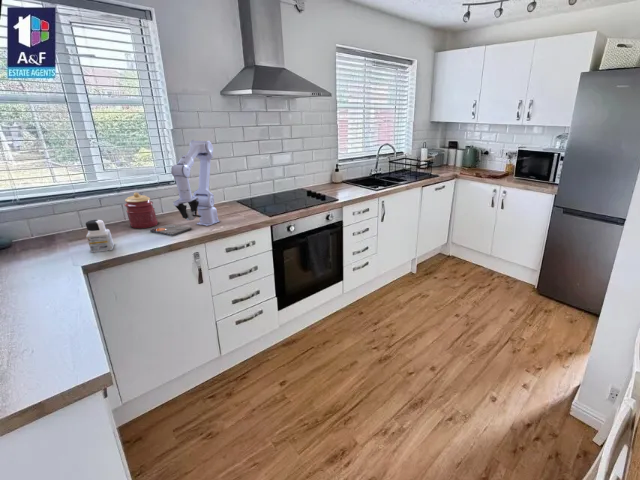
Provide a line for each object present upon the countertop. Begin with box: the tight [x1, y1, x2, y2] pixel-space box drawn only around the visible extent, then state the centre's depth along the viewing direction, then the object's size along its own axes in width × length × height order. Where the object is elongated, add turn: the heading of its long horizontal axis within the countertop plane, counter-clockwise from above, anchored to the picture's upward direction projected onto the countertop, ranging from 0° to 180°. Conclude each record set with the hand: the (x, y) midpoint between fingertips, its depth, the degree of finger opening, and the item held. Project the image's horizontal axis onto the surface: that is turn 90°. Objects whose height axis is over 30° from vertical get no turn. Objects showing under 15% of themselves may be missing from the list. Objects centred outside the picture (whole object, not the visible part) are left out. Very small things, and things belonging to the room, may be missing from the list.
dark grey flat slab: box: [150, 223, 192, 237], centre depth 193 cm, size 12×15×1 cm
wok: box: [184, 209, 201, 221], centre depth 188 cm, size 6×10×4 cm, turn 70°
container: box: [85, 219, 115, 253], centre depth 165 cm, size 8×8×13 cm
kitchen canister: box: [124, 191, 159, 229], centre depth 196 cm, size 13×13×18 cm
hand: (189, 216), depth 189 cm, fingers closed on wok, 5 cm apart
